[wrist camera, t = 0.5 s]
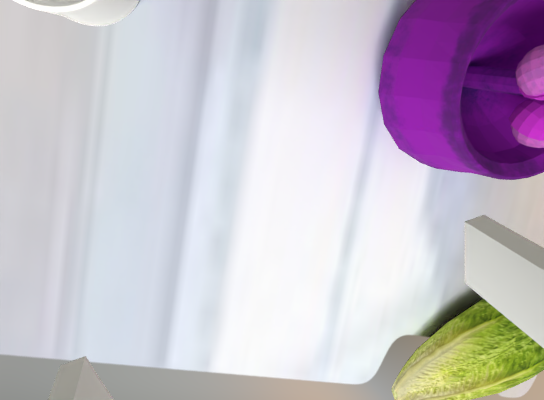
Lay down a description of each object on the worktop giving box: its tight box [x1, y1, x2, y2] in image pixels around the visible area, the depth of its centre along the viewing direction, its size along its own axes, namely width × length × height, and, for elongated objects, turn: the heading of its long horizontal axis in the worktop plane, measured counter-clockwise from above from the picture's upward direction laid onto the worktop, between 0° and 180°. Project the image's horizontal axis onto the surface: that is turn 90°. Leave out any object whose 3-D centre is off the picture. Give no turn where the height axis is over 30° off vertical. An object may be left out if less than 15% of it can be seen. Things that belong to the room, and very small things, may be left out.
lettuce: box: [392, 299, 544, 400], centre depth 53 cm, size 12×24×13 cm
